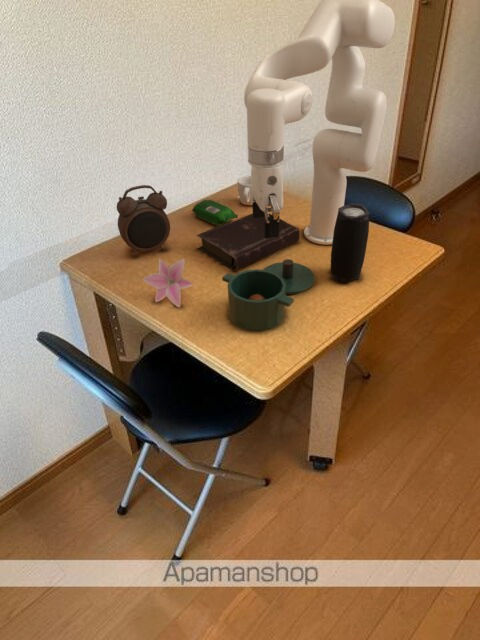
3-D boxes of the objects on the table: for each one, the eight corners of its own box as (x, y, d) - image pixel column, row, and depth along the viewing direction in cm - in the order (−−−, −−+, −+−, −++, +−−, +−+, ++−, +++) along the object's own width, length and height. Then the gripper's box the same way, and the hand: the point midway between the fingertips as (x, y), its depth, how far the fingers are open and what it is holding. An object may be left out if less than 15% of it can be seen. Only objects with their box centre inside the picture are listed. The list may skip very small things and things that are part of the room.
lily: (142, 294, 131) (133, 277, 122) (172, 263, 134) (166, 245, 126) (175, 320, 128) (168, 306, 119) (205, 289, 131) (201, 272, 122)
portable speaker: (324, 281, 133) (331, 214, 121) (334, 264, 140) (342, 199, 128) (356, 288, 130) (366, 220, 118) (365, 270, 137) (375, 204, 125)
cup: (257, 212, 166) (257, 189, 161) (234, 210, 167) (233, 187, 162) (262, 198, 174) (262, 176, 169) (240, 196, 176) (240, 175, 171)
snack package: (223, 231, 156) (223, 216, 152) (190, 216, 164) (189, 201, 161) (239, 224, 160) (239, 209, 156) (206, 209, 168) (205, 194, 165)
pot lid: (278, 260, 142) (279, 242, 138) (324, 276, 135) (326, 258, 131) (249, 283, 133) (249, 265, 129) (296, 302, 126) (297, 283, 122)
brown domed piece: (262, 302, 125) (262, 286, 122) (273, 315, 121) (273, 299, 118) (240, 308, 123) (240, 292, 120) (250, 322, 119) (250, 305, 116)
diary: (300, 243, 149) (301, 228, 146) (237, 274, 136) (236, 258, 133) (258, 222, 160) (258, 207, 157) (196, 248, 148) (195, 233, 144)
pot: (241, 288, 131) (241, 260, 126) (304, 313, 122) (306, 284, 117) (209, 313, 123) (207, 285, 117) (273, 342, 114) (274, 313, 108)
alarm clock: (127, 262, 142) (115, 197, 130) (121, 250, 147) (109, 186, 135) (175, 251, 147) (168, 187, 134) (168, 240, 152) (160, 177, 139)
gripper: (296, 167, 98) (292, 242, 109) (270, 138, 111) (270, 208, 122) (259, 172, 97) (259, 248, 108) (238, 142, 110) (240, 212, 121)
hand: (265, 226), depth 115 cm, fingers open, 9 cm apart
